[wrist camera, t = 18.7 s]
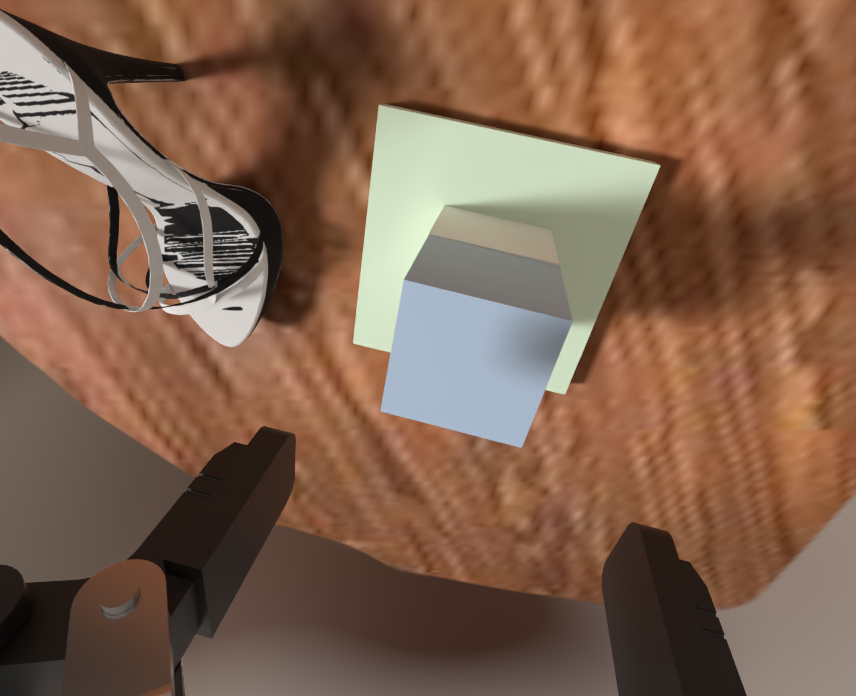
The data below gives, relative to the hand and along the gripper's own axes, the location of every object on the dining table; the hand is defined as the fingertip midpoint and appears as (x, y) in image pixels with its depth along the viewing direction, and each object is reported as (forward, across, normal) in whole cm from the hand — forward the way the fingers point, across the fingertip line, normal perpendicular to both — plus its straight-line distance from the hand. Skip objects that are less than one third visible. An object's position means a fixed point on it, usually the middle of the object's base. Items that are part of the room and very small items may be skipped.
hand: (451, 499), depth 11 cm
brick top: (+11, 0, 0) cm, 11 cm away
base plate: (+17, 0, 0) cm, 17 cm away
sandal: (+17, +16, 0) cm, 23 cm away
